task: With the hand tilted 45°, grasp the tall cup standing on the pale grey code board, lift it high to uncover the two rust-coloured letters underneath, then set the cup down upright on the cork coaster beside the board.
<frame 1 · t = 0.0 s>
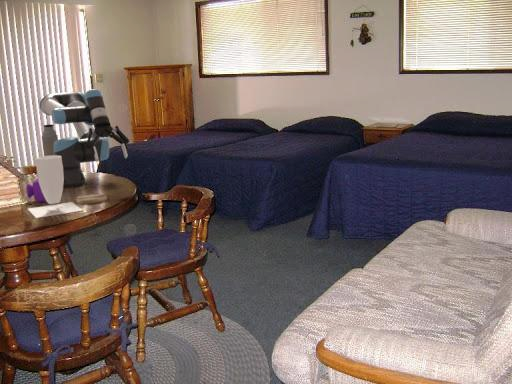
hand: (112, 158, 256), 15 cm above the table, tool tilted 35°, fingers open, 13 cm apart
cup: (54, 209, 227), resting on code board
coaster: (91, 200, 242), on the table
code board: (54, 209, 227), on the table
toy camera: (43, 200, 246), on the table
thermos bottle: (54, 176, 302), on the table
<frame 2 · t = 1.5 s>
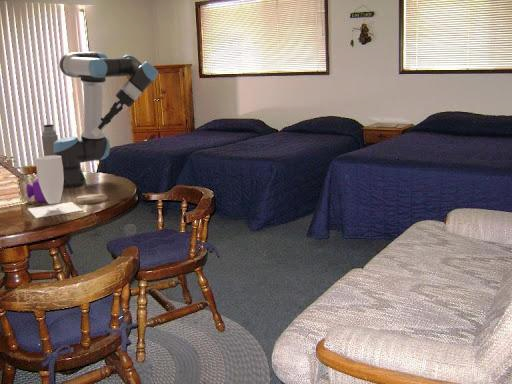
hand: (94, 133, 231), 30 cm above the table, tool tilted 45°, fingers open, 13 cm apart
nothing on the table moved.
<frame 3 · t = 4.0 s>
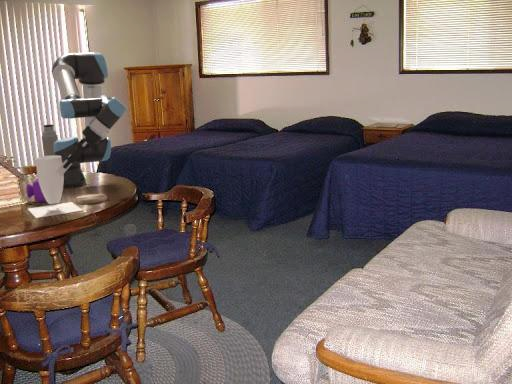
hand: (60, 171, 223), 16 cm above the table, tool tilted 45°, fingers open, 13 cm apart
nothing on the table moved.
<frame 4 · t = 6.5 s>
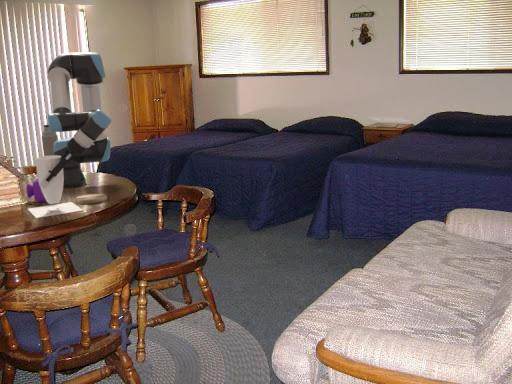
hand: (43, 184, 224), 11 cm above the table, tool tilted 45°, fingers closed on cup, 10 cm apart
cup: (54, 209, 227), resting on code board, touching gripper
everything else where it was.
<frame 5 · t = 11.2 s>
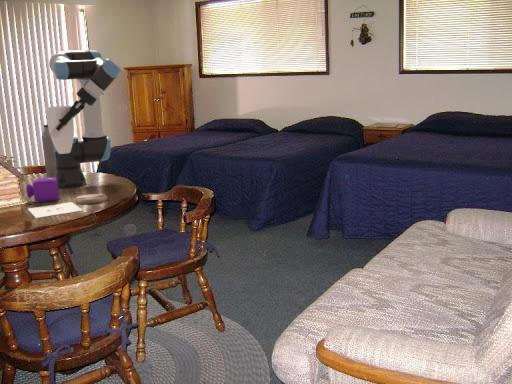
hand: (54, 134, 225), 30 cm above the table, tool tilted 45°, fingers closed on cup, 10 cm apart
cup: (65, 160, 228), point 19 cm above the table, touching gripper
everything else where it was.
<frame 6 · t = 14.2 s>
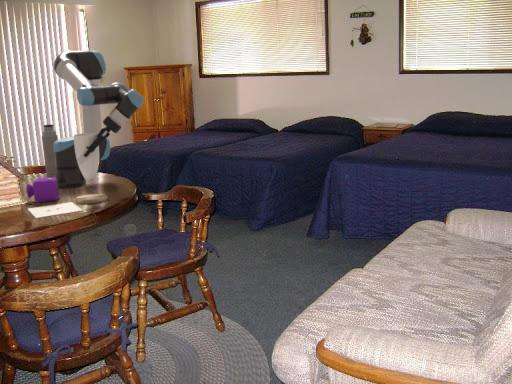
hand: (80, 160, 237), 18 cm above the table, tool tilted 45°, fingers closed on cup, 10 cm apart
cup: (90, 184, 239), point 7 cm above the table, touching gripper
everything else where it was.
when the fingers open (14 cm above the table, at t = 16.1 s): cup drops 2 cm, resting on coaster.
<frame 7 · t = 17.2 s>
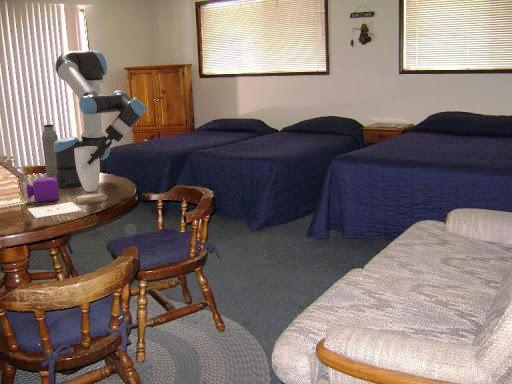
hand: (84, 166, 238), 15 cm above the table, tool tilted 45°, fingers open, 13 cm apart
cup: (91, 197, 241), point 1 cm above the table, touching coaster
everything else where it was.
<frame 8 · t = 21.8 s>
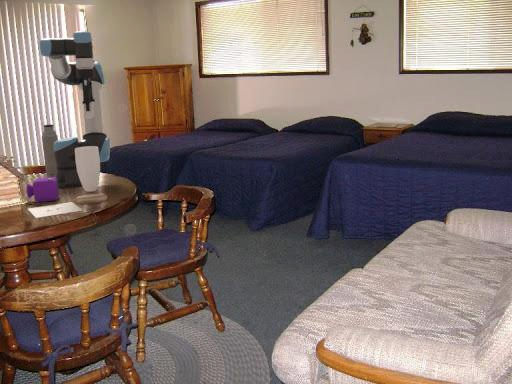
hand: (90, 117, 246), 35 cm above the table, tool pointing down, fingers open, 13 cm apart
nothing on the table moved.
at the end: cup 0.1 cm off-centre on the coaster, point 1.3 cm above the coaster's base; cup tilted 0°; the gripper is holding nothing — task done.
